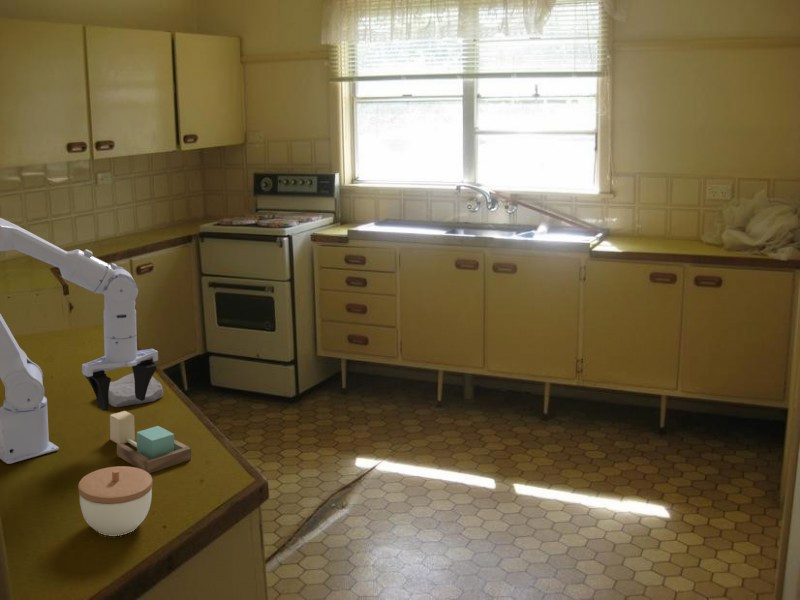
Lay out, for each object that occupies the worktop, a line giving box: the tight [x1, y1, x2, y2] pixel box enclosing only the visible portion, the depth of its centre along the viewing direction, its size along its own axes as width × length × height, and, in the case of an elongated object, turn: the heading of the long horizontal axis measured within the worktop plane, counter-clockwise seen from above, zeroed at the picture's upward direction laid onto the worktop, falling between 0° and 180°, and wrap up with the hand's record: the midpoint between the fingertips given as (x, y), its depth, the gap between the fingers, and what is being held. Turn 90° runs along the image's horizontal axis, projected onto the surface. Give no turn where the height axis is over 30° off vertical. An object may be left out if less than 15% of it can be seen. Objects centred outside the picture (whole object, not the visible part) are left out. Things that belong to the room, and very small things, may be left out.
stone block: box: [108, 372, 164, 408], centre depth 185 cm, size 12×5×10 cm
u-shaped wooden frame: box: [116, 438, 192, 474], centre depth 158 cm, size 10×9×2 cm
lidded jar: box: [78, 465, 154, 536], centre depth 133 cm, size 11×11×9 cm
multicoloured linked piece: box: [109, 410, 175, 459], centre depth 160 cm, size 15×4×5 cm, turn 49°
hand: (122, 403), depth 163 cm, fingers open, 7 cm apart
